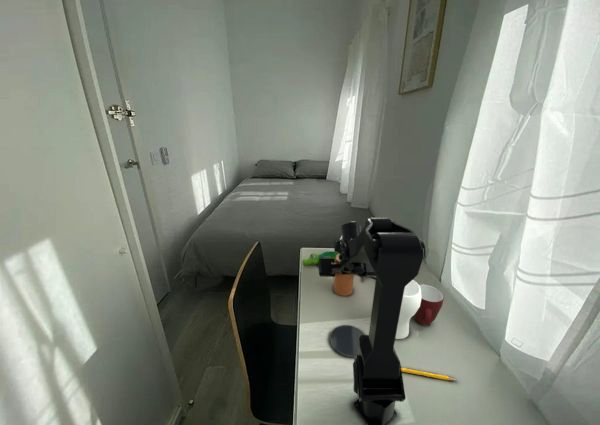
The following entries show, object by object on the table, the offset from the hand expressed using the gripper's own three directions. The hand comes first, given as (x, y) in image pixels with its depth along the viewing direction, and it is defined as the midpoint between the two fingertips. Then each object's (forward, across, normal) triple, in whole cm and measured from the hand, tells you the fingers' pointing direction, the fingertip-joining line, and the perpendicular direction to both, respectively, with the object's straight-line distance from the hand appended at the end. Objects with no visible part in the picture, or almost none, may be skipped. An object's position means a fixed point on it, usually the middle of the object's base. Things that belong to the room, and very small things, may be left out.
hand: (343, 271), depth 89 cm
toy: (+17, +6, -8) cm, 20 cm away
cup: (-9, -12, +18) cm, 24 cm away
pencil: (-19, -14, +28) cm, 37 cm away
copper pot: (+5, 0, +5) cm, 7 cm away
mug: (-7, -22, +17) cm, 28 cm away
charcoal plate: (-12, +2, +22) cm, 25 cm away
